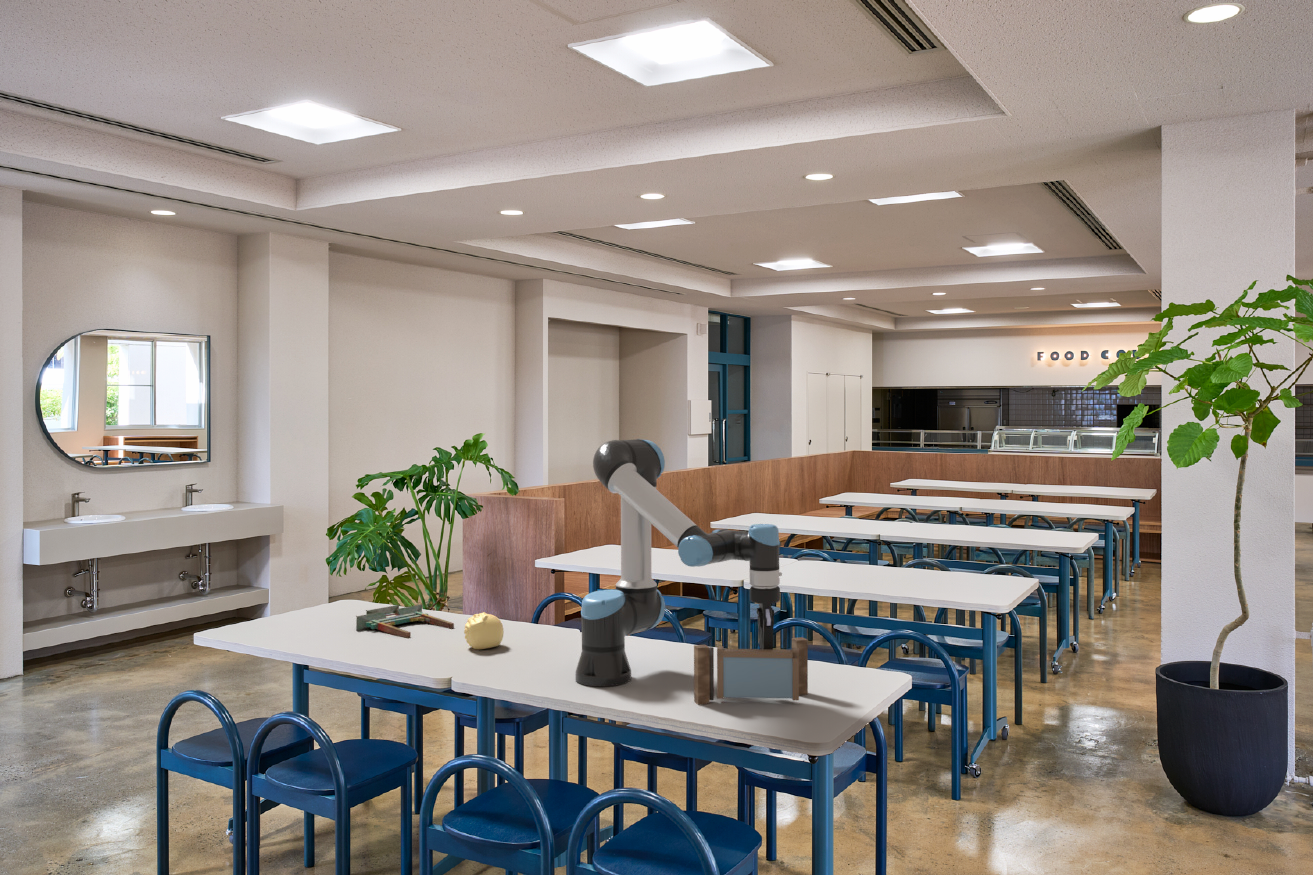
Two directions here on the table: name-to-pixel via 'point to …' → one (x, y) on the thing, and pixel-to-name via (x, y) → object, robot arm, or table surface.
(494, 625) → the sculpture
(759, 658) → the gate leaf
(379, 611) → the miniature gate
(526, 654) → the table surface
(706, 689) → the gate posts
